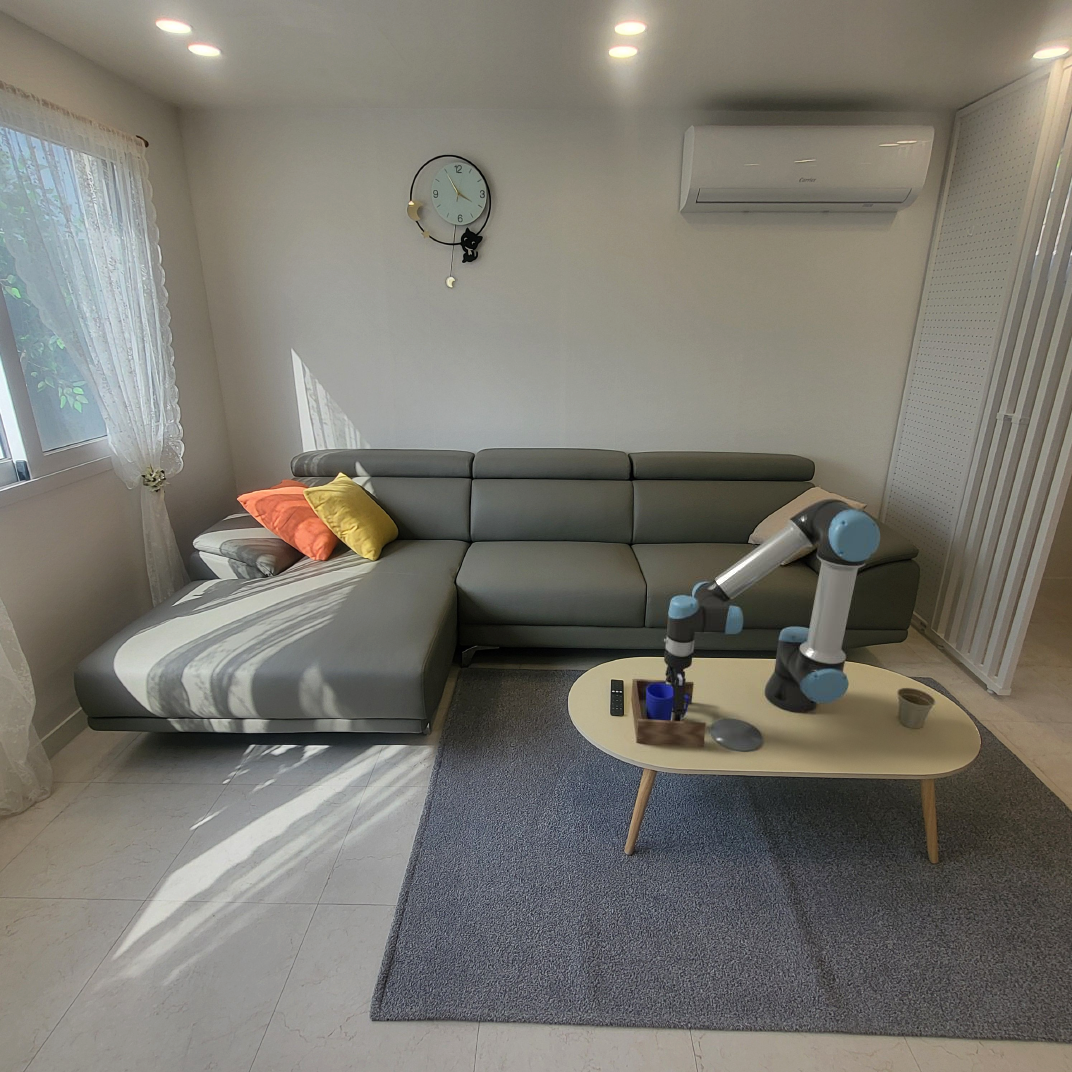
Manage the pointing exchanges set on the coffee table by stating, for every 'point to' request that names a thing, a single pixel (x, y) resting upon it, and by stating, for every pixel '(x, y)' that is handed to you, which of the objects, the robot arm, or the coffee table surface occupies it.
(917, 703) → the flower pot
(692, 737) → the u-shaped wooden frame
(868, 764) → the coffee table surface
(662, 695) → the mug
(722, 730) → the grey round disc
